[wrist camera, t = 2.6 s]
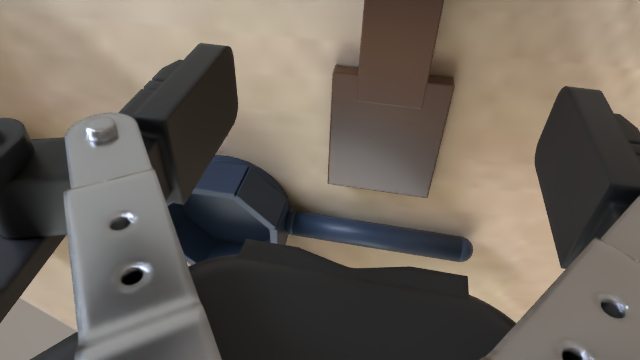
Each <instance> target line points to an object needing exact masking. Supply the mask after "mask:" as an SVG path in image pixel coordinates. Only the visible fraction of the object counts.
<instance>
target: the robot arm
mask: <svg viewBox="0 0 640 360" xmlns="http://www.w3.org/2000/svg"><path fill="white" fill-rule="evenodd" d="M237 110H238V97H237V87H236V77H235V67H234V57H233V52H232V49H231V48H230V47H229V46H222V45H213V44H204V43H200V44H198V45H197V46H196V47H195V48H194V50H193V51H192V52H191V53H190V54H189V55H188V56H187V57H186V58H185V59H184V60H178V61H176V62H174V63H172V64H170V65H168V66H166V67H164V68H162V69H161V70H160V71H159V72H158V73H157V74H156V75H155V76H154V77H153V78H152V81H151V80H150V81H149V82H148V83H147V84H146V85H145V86H144V89H141V90H140V91H139V92H138V93H137V94H136V95H135V96H134V97H133V98H132V99H131V100H130V101H129V102H128V103H127V104H126V105H125V107H124V108H123V109H122V110H121V111H120V112H119V113H102V114H97V115H93V116H89V117H87V118H84V119H82V120H80V121H78V122H76V123H75V124H74V125H72V126H71V127H70V128H69V129H68V130H67V132H66V134H65V138H50V139H33V140H30V138H29V135H28V133H27V131H26V129H25V127H24V125H23V124H22V123H21V122H20V121H18V120H15V119H10V118H0V323H1V321H2V320H3V319H4V317H5V316H6V315H7V313H8V312H9V311H10V309H11V308H12V306H13V305H14V304H15V303H16V301H17V300H18V299H19V297H20V296H21V295H22V293H23V292H24V291H25V289H26V288H27V287H28V285H29V284H30V283H31V281H32V280H33V279H34V277H35V276H36V275H37V273H38V272H39V271H40V269H41V268H42V267H43V265H44V264H45V263H46V261H47V260H48V259H49V257H50V256H51V255H52V253H53V252H54V251H55V249H56V248H57V247H58V245H59V244H60V243H61V241H62V240H63V239H64V237H65V236H66V234H67V235H68V245H69V254H70V264H71V273H72V282H73V292H74V301H75V311H76V320H77V329H78V332H76V333H74V334H73V335H71V336H69V337H68V338H66V339H64V340H62V341H61V342H59V343H57V344H56V345H54V346H52V347H51V348H49V349H47V350H46V351H44V352H42V353H41V354H39V355H37V356H35V357H34V358H32V359H30V360H640V132H639V130H638V128H637V127H635V126H634V125H633V124H632V123H630V122H629V121H628V120H627V119H625V118H624V117H623V116H622V115H620V114H614V113H613V112H612V110H611V108H610V106H609V104H608V102H607V100H606V99H605V97H604V95H603V93H602V92H601V91H600V90H593V89H584V88H576V87H567V86H565V87H563V88H562V89H561V91H560V92H559V94H558V96H557V98H556V100H555V103H554V105H553V108H552V110H551V112H550V115H549V117H548V120H547V122H546V124H545V127H544V129H543V132H542V134H541V136H540V139H539V141H538V144H537V148H536V153H535V168H536V172H537V176H538V180H539V184H540V187H541V191H542V195H543V199H544V203H545V207H546V211H547V215H548V219H549V223H550V226H551V230H552V234H553V238H554V242H555V246H556V250H557V254H558V258H559V262H560V265H561V268H564V269H566V270H565V271H564V272H563V273H562V274H561V275H560V276H559V277H558V278H557V280H556V281H555V282H554V283H553V284H552V285H551V286H550V287H549V288H548V289H547V291H546V292H545V293H544V294H543V295H542V296H541V297H540V298H539V299H538V300H537V301H536V303H535V304H534V305H533V306H532V307H531V308H530V309H529V310H528V311H527V312H526V314H525V315H524V316H523V317H522V318H521V319H520V320H519V321H518V322H517V323H515V322H514V321H513V320H511V319H510V318H509V317H508V316H506V315H505V314H504V313H502V312H501V311H499V310H498V309H496V308H494V307H493V306H491V305H490V304H488V303H486V302H484V301H482V300H480V299H478V298H476V297H473V296H471V295H469V292H468V276H463V275H457V274H451V273H445V272H439V271H433V270H427V269H422V268H416V267H385V268H349V267H346V266H343V265H341V264H338V263H336V262H333V261H331V260H328V259H326V258H323V257H321V256H318V255H316V254H313V253H311V252H308V251H306V250H303V249H301V248H298V247H293V246H287V245H281V244H275V243H270V242H264V241H258V240H252V239H245V242H244V244H243V246H242V249H241V251H240V253H239V254H237V255H227V256H220V257H216V258H211V259H207V260H204V261H202V262H199V263H196V264H193V265H191V266H189V267H188V265H187V262H186V259H185V256H184V253H183V250H182V248H181V245H180V242H179V239H178V236H177V233H176V230H175V227H174V224H173V221H172V218H171V216H170V213H169V210H168V207H167V204H166V202H171V203H177V204H183V205H185V203H186V201H187V200H188V198H189V196H190V195H191V193H192V192H193V190H194V188H195V187H196V185H197V183H198V182H199V180H200V178H201V177H202V175H203V174H204V172H205V170H206V169H207V167H208V165H209V164H210V162H211V161H212V159H213V157H214V156H215V154H216V152H217V151H218V149H219V147H220V146H221V144H222V143H223V141H224V139H225V138H226V136H227V134H228V133H229V131H230V129H231V128H232V126H233V125H234V123H235V120H236V116H237Z"/></svg>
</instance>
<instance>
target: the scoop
mask: <svg viewBox="0 0 640 360" xmlns="http://www.w3.org/2000/svg"><path fill="white" fill-rule="evenodd" d="M166 204H167V207H168V210H169V213H170V216H171V218H172V221H173V224H174V227H175V230H176V233H177V236H178V239H179V242H180V245H181V248H182V250H183V253H184V256H185V259H186V261H187V262H188V263H190V264H191V265H193V264H196V263H199V262H202V261H204V260H207V259H211V258H216V257H220V256H227V255H237V254H239V253H240V251H241V249H242V246H243V244H244V242H245V239H252V240H258V241H264V242H270V243H275V244H281V245H285V244H286V241H287V238H288V235H289V234H291V235H295V236H301V237H308V238H314V239H320V240H326V241H332V242H339V243H345V244H351V245H357V246H363V247H370V248H376V249H382V250H388V251H394V252H401V253H407V254H413V255H419V256H425V257H432V258H438V259H444V260H450V261H456V262H464V261H466V260H468V259H469V258H470V257H471V256H472V253H473V246H472V244H471V242H470V241H469V240H468V239H467V238H465V237H461V236H455V235H448V234H442V233H435V232H429V231H422V230H416V229H409V228H403V227H397V226H390V225H384V224H377V223H371V222H364V221H358V220H351V219H345V218H338V217H332V216H325V215H319V214H312V213H306V212H299V211H292V212H291V208H290V204H289V200H288V198H287V196H286V194H285V192H284V191H283V189H282V188H281V186H280V185H279V184H278V183H277V182H276V181H275V180H274V179H273V178H272V177H271V176H270V175H269V174H267V173H266V172H265V171H263V170H262V169H260V168H258V167H257V166H255V165H253V164H251V163H248V162H246V161H243V160H240V159H237V158H233V157H228V156H214V157H213V159H212V161H211V162H210V164H209V165H208V167H207V169H206V170H205V172H204V174H203V175H202V177H201V178H200V180H199V182H198V183H197V185H196V187H195V188H194V190H193V192H192V193H191V195H190V196H189V198H188V200H187V201H186V203H185V205H183V204H177V203H171V202H166Z"/></svg>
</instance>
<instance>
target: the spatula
mask: <svg viewBox="0 0 640 360" xmlns="http://www.w3.org/2000/svg"><path fill="white" fill-rule="evenodd" d="M443 2H444V0H364V11H363V23H362V35H361V46H360V58H359V67H352V66H343V65H335V68H334V70H333V79H332V100H331V121H330V143H329V164H328V184H334V185H341V186H348V187H354V188H361V189H368V190H375V191H382V192H389V193H396V194H403V195H410V196H416V197H423V198H427V197H428V194H429V189H430V185H431V181H432V177H433V173H434V169H435V165H436V161H437V157H438V152H439V148H440V144H441V140H442V136H443V132H444V128H445V124H446V119H447V115H448V111H449V107H450V103H451V99H452V95H453V91H454V78H451V77H442V76H433V75H429V73H430V68H431V63H432V58H433V53H434V48H435V43H436V38H437V33H438V28H439V23H440V18H441V13H442V7H443Z"/></svg>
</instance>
